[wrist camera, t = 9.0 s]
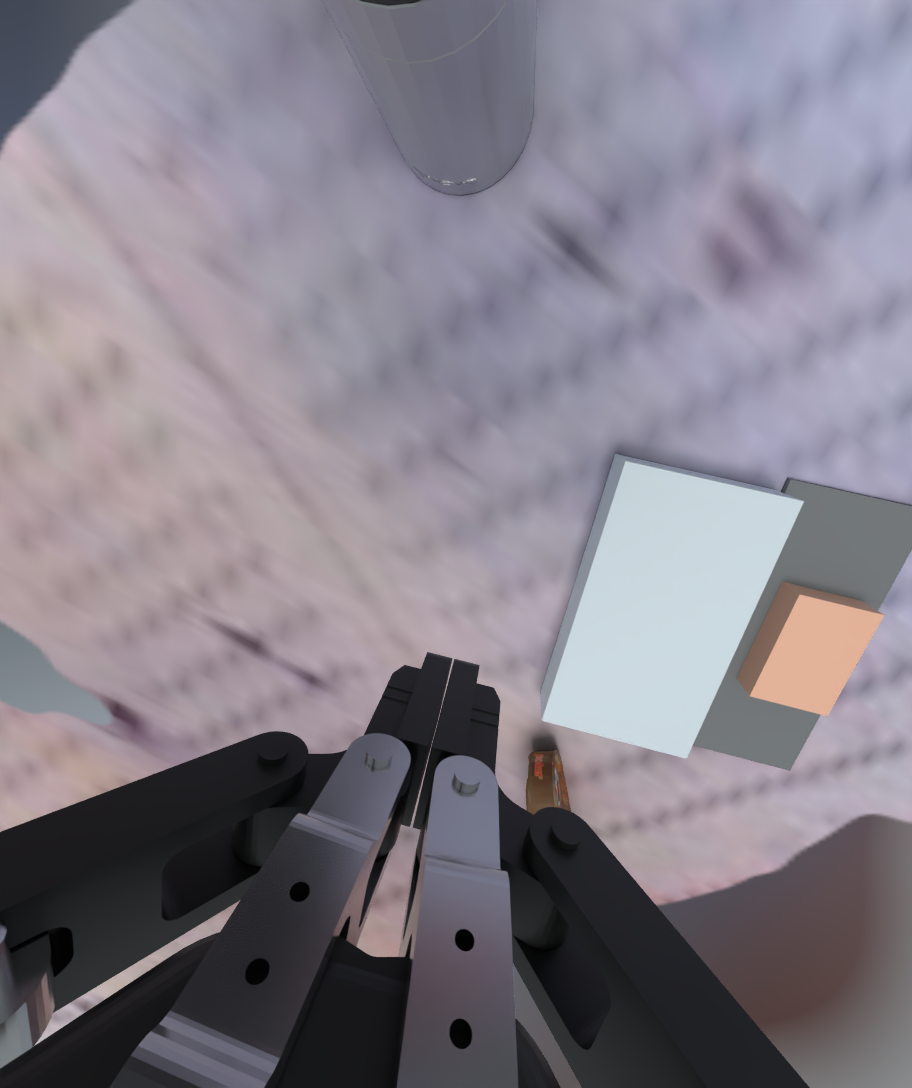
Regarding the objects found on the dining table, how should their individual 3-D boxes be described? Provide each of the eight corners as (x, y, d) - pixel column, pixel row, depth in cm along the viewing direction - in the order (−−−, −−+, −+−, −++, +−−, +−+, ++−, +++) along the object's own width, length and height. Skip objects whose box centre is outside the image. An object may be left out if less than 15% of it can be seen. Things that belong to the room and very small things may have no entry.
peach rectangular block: (884, 615, 35) (861, 600, 37) (799, 594, 35) (782, 581, 37) (827, 716, 38) (809, 697, 40) (749, 696, 38) (736, 678, 40)
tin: (578, 853, 49) (588, 942, 41) (547, 854, 50) (551, 942, 42) (555, 728, 45) (562, 801, 37) (522, 731, 46) (521, 804, 38)
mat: (787, 478, 36) (790, 479, 35) (927, 509, 35) (932, 511, 35) (674, 736, 43) (675, 740, 43) (786, 766, 43) (789, 770, 42)
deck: (615, 453, 37) (625, 461, 33) (774, 489, 36) (804, 501, 32) (540, 692, 44) (541, 720, 40) (672, 726, 43) (686, 758, 39)
